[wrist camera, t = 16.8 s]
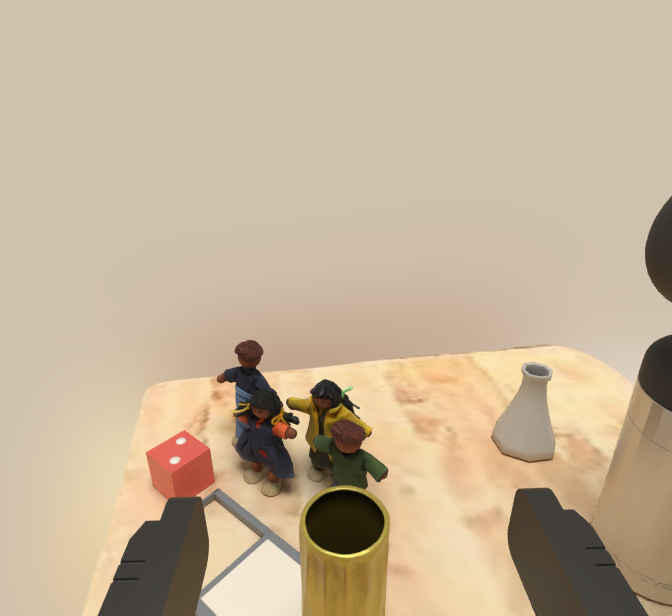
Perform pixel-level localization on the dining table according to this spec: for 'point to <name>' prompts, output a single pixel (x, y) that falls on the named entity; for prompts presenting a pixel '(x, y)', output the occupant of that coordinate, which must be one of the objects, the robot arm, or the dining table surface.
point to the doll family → (273, 424)
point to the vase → (344, 553)
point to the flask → (527, 418)
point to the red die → (180, 466)
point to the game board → (254, 574)
